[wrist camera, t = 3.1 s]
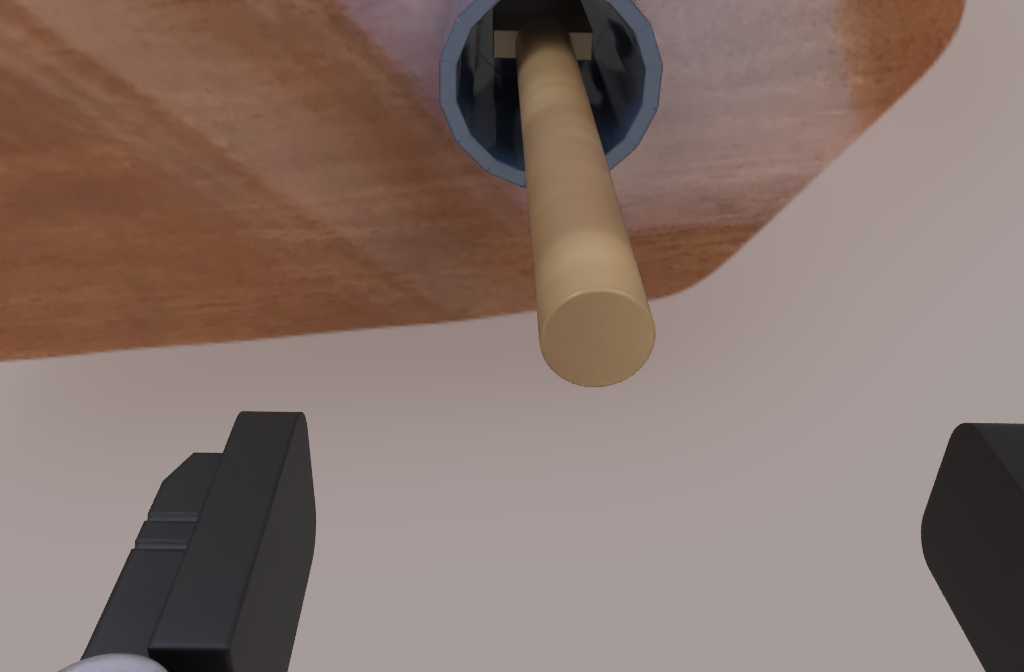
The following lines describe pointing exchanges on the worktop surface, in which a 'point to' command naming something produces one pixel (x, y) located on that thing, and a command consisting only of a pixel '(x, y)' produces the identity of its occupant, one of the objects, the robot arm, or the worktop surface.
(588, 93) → the crock
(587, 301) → the wooden stirring stick
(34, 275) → the worktop surface
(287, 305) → the worktop surface
